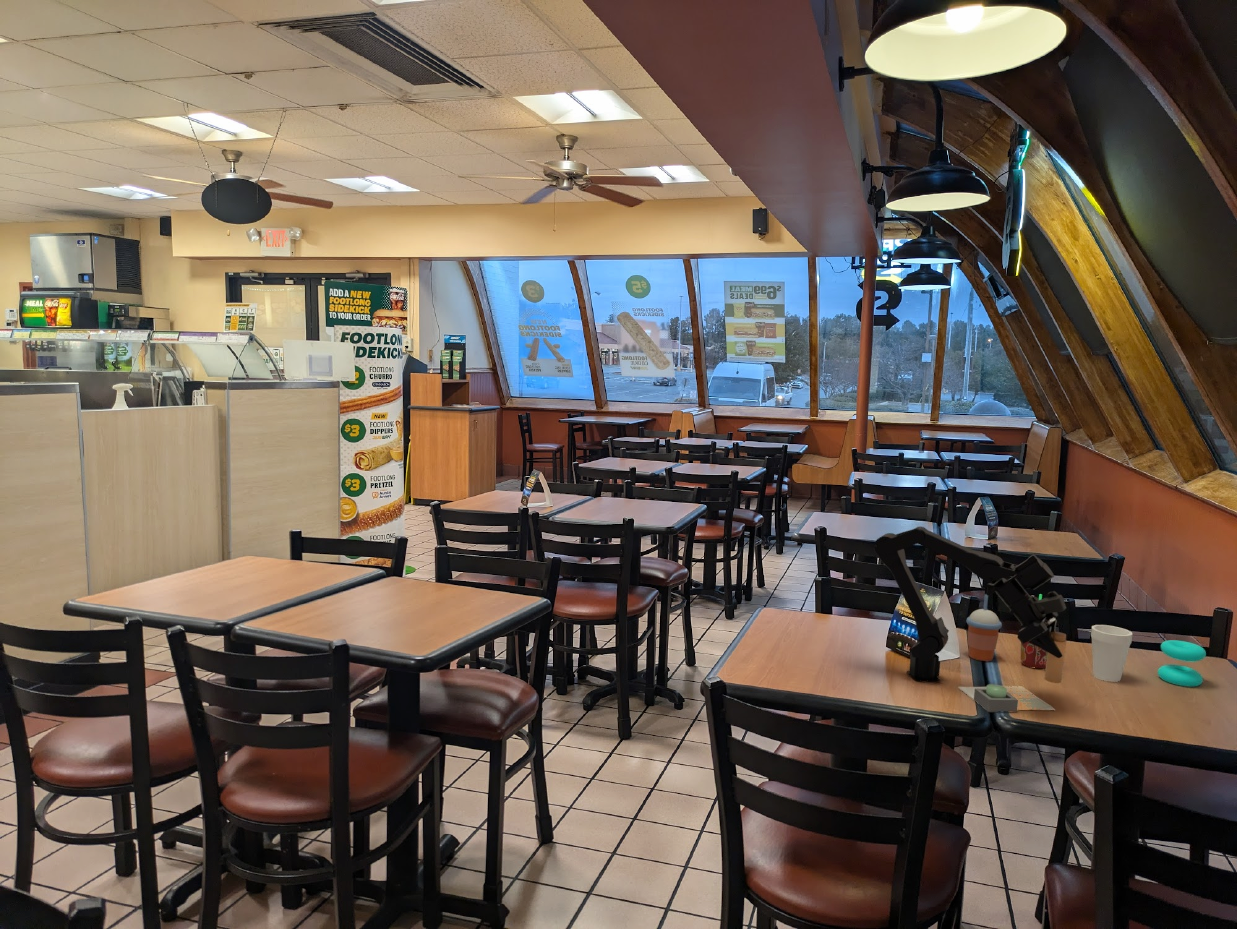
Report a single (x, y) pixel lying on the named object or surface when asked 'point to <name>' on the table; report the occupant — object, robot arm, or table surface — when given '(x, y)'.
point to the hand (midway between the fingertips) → (1062, 655)
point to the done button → (996, 691)
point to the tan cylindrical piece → (1056, 659)
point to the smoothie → (1034, 653)
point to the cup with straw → (983, 633)
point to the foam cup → (1109, 651)
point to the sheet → (1004, 699)
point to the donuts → (1178, 672)
